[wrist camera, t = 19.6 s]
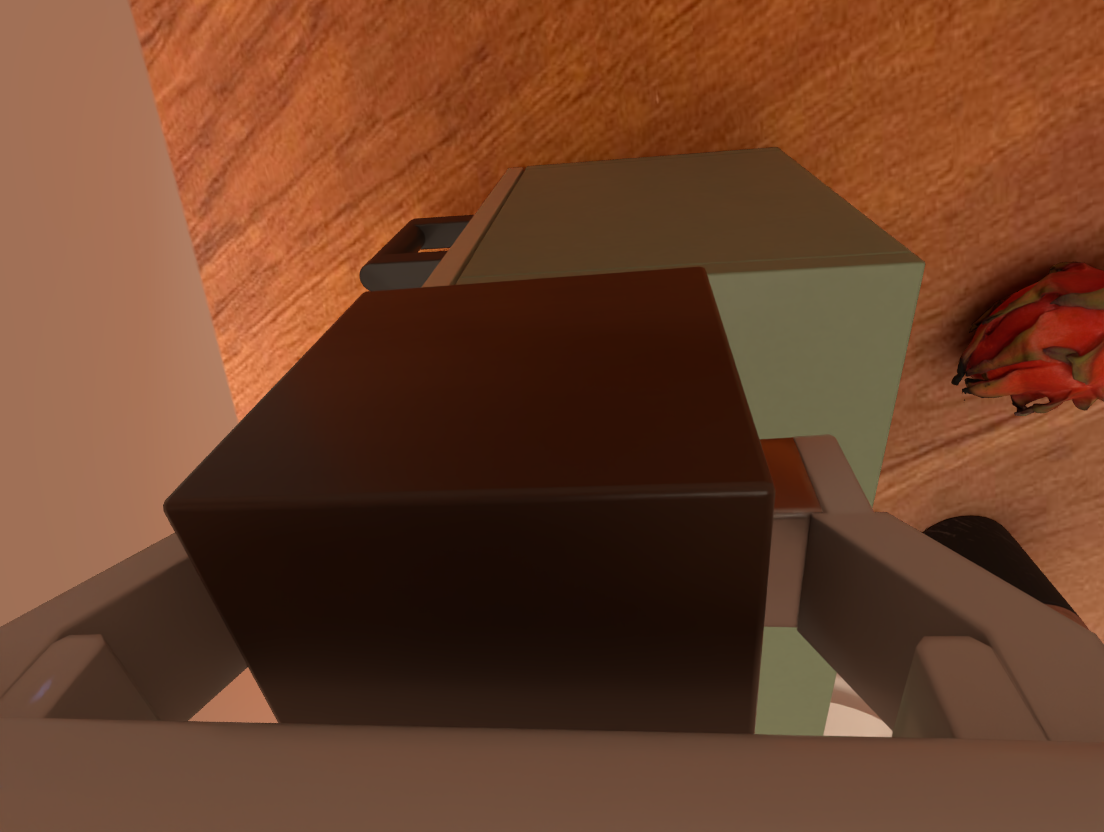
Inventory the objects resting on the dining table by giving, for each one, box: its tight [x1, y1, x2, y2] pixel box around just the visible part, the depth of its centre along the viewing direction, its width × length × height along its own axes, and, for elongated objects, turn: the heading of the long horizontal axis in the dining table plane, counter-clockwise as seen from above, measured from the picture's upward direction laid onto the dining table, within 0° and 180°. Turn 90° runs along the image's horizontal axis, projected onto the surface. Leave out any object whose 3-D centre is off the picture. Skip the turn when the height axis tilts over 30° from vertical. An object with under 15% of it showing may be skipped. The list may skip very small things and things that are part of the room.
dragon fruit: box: [951, 262, 1104, 416], centre depth 36 cm, size 8×8×12 cm
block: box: [163, 267, 776, 734], centre depth 8 cm, size 5×5×5 cm
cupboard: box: [455, 147, 925, 736], centre depth 34 cm, size 14×24×20 cm, turn 5°
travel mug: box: [923, 516, 1090, 631], centre depth 41 cm, size 8×8×20 cm
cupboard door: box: [360, 167, 524, 291], centre depth 35 cm, size 7×24×20 cm, turn 5°
